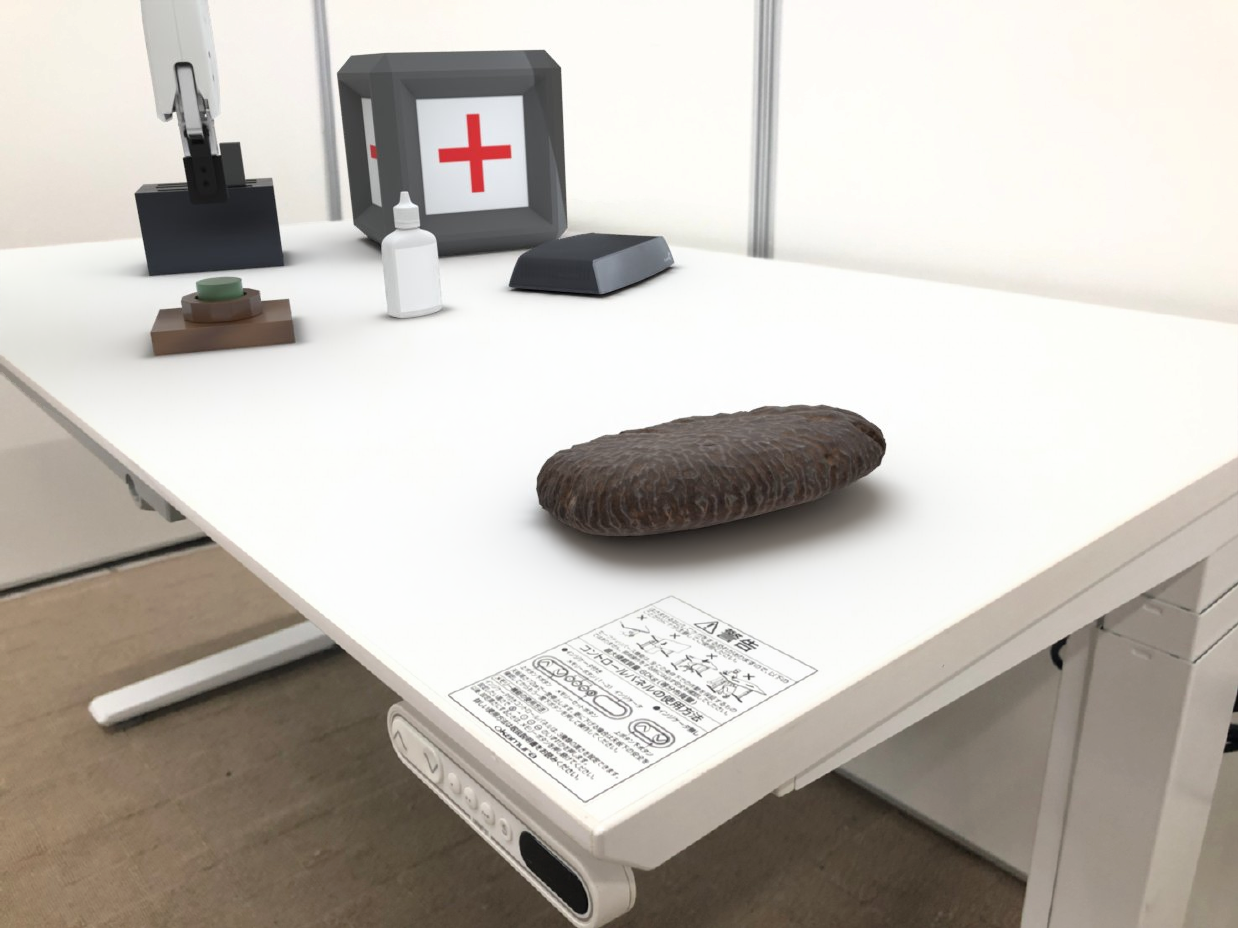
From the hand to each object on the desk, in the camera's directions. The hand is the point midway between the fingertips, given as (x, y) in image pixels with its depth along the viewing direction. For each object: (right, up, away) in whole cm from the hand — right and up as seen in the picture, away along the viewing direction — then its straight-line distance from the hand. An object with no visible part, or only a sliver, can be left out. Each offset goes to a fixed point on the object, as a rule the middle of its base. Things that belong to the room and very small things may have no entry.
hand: (210, 202), depth 95 cm
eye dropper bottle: (+16, -8, +12) cm, 22 cm away
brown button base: (0, -12, +4) cm, 12 cm away
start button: (0, -8, +3) cm, 9 cm away
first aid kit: (+14, +8, +55) cm, 57 cm away
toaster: (-15, +2, +42) cm, 45 cm away
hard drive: (+34, -2, +27) cm, 44 cm away
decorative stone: (+42, -26, -35) cm, 61 cm away
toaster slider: (-11, +11, +36) cm, 39 cm away
